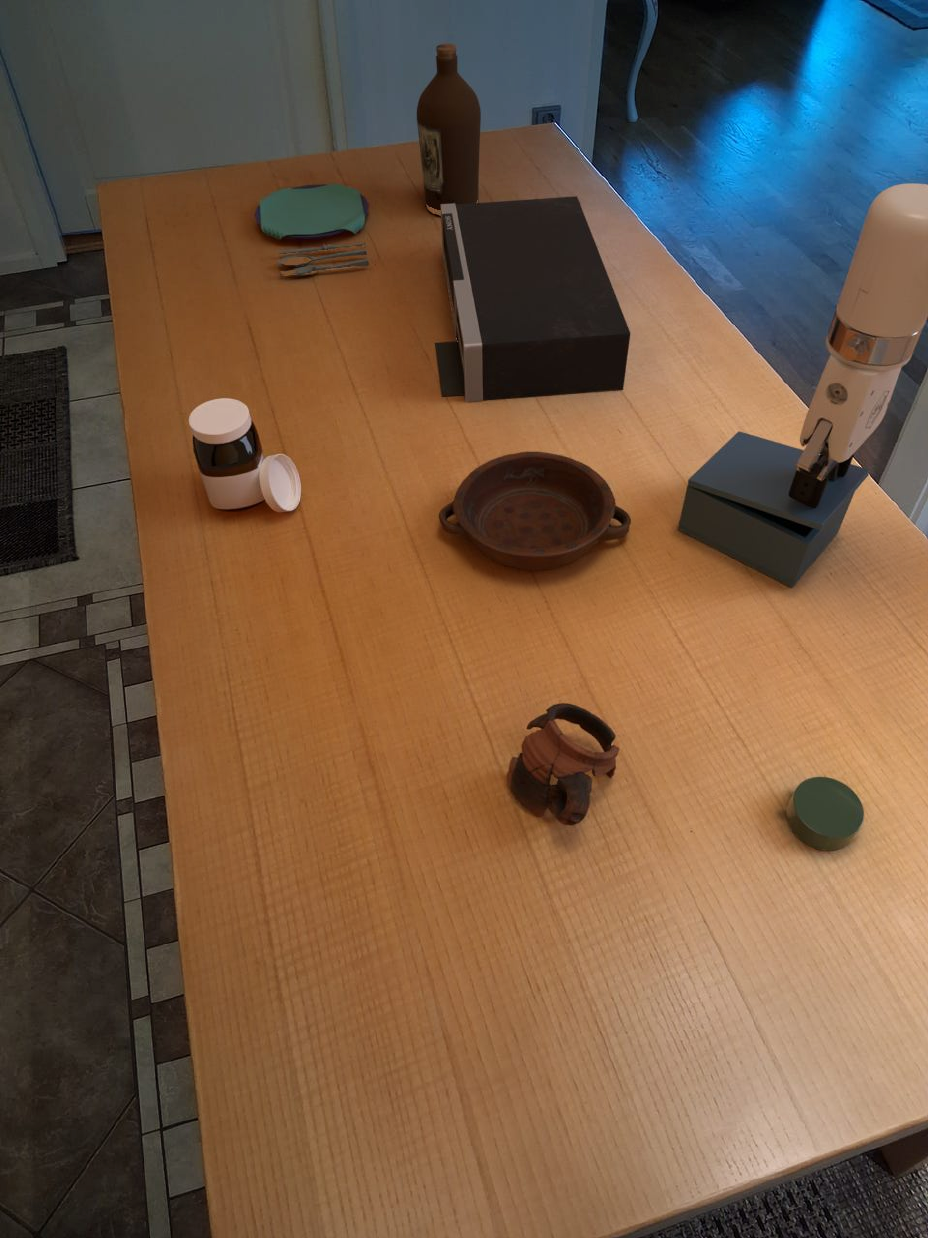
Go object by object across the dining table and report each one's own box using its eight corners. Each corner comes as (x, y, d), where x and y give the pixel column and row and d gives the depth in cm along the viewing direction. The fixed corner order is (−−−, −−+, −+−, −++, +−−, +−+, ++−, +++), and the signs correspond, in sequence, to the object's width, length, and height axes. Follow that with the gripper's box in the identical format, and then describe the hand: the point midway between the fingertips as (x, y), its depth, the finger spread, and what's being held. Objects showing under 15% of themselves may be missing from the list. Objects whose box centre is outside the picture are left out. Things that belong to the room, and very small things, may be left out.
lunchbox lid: (868, 475, 96) (876, 435, 93) (821, 530, 91) (828, 491, 88) (738, 436, 105) (741, 398, 101) (687, 485, 99) (689, 447, 96)
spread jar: (206, 473, 113) (182, 395, 104) (295, 457, 115) (279, 380, 106) (213, 537, 106) (187, 459, 97) (308, 519, 107) (291, 441, 98)
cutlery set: (364, 189, 164) (363, 176, 163) (382, 270, 145) (381, 257, 143) (255, 200, 163) (253, 187, 161) (258, 284, 143) (256, 270, 142)
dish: (443, 481, 111) (441, 449, 107) (621, 481, 110) (626, 449, 107) (435, 584, 100) (433, 553, 96) (634, 586, 99) (640, 554, 95)
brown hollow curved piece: (491, 751, 86) (527, 686, 82) (576, 770, 89) (614, 708, 86) (516, 847, 76) (559, 778, 73) (611, 864, 80) (656, 799, 76)
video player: (623, 390, 123) (630, 332, 116) (442, 404, 122) (439, 347, 115) (572, 247, 149) (576, 194, 142) (423, 258, 147) (420, 204, 141)
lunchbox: (837, 533, 104) (855, 489, 98) (791, 588, 98) (808, 544, 93) (726, 481, 110) (737, 436, 105) (677, 529, 105) (687, 485, 100)
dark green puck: (846, 790, 82) (854, 776, 80) (863, 851, 78) (872, 838, 76) (780, 789, 82) (786, 775, 80) (793, 850, 78) (801, 837, 76)
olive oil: (461, 187, 164) (457, 30, 145) (493, 208, 158) (493, 48, 139) (411, 202, 161) (400, 43, 142) (441, 225, 155) (434, 63, 136)
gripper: (871, 393, 75) (811, 546, 89) (951, 307, 83) (885, 459, 97) (789, 360, 78) (744, 513, 92) (874, 281, 87) (821, 432, 101)
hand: (817, 484), depth 95 cm, fingers open, 5 cm apart
